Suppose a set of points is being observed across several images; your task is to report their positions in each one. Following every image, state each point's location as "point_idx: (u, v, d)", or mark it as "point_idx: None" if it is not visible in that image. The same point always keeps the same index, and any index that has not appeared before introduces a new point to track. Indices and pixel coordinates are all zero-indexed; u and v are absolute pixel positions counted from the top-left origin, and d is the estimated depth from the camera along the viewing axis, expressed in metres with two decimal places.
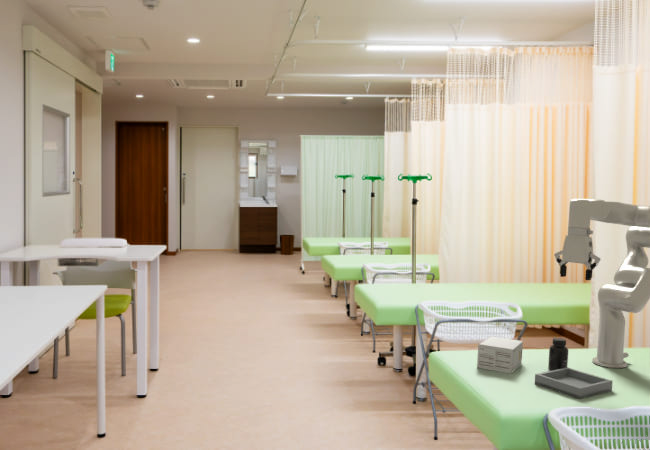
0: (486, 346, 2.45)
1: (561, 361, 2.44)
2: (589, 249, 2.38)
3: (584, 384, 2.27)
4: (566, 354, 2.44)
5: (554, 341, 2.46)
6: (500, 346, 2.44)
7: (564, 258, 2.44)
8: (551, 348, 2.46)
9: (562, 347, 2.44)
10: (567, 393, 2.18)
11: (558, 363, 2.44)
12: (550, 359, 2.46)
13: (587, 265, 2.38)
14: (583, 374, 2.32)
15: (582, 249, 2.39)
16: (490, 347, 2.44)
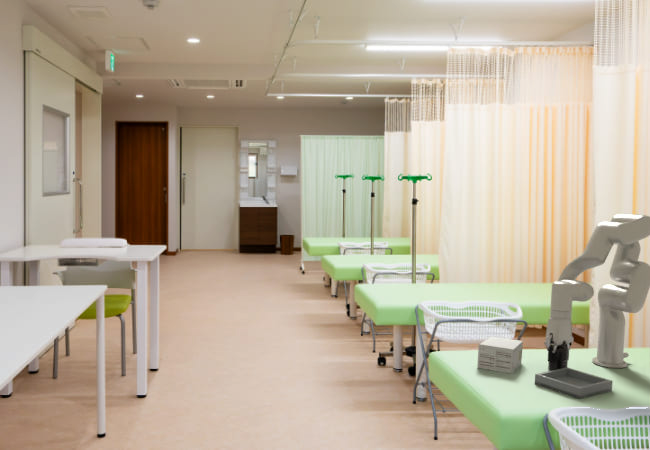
0: (486, 346, 2.45)
1: (561, 360, 2.43)
2: None
3: (584, 384, 2.27)
4: (566, 354, 2.44)
5: None
6: (500, 346, 2.44)
7: (557, 343, 2.43)
8: None
9: (562, 347, 2.44)
10: (567, 393, 2.18)
11: (558, 363, 2.44)
12: None
13: (568, 346, 2.48)
14: (583, 374, 2.32)
15: (570, 330, 2.46)
16: (490, 347, 2.44)
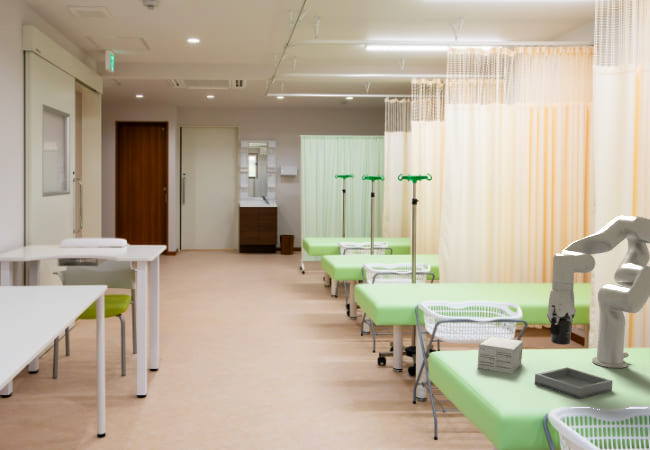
0: (487, 346, 2.45)
1: (563, 332, 2.43)
2: None
3: (584, 384, 2.27)
4: (569, 326, 2.44)
5: None
6: (501, 346, 2.44)
7: (560, 314, 2.42)
8: None
9: (565, 319, 2.44)
10: (567, 393, 2.18)
11: (561, 335, 2.43)
12: None
13: (571, 318, 2.47)
14: (583, 374, 2.32)
15: (572, 302, 2.45)
16: (491, 347, 2.44)
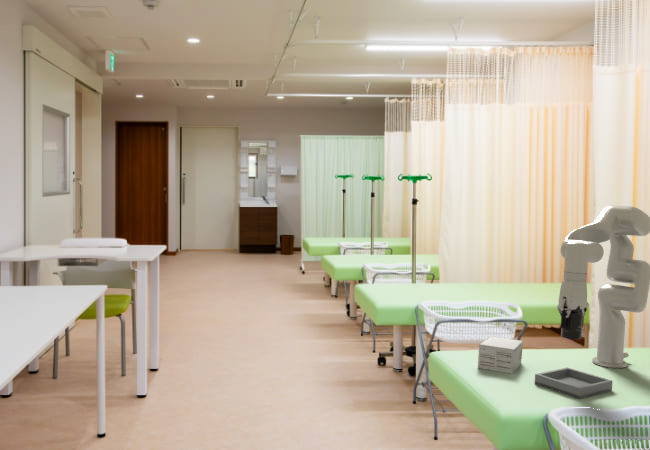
0: (487, 346, 2.45)
1: (574, 326, 2.27)
2: None
3: (584, 384, 2.27)
4: (580, 319, 2.27)
5: None
6: (501, 346, 2.44)
7: (571, 307, 2.26)
8: None
9: (576, 312, 2.27)
10: (567, 393, 2.18)
11: (571, 329, 2.27)
12: None
13: (583, 311, 2.31)
14: (583, 374, 2.32)
15: (585, 294, 2.29)
16: (491, 347, 2.44)
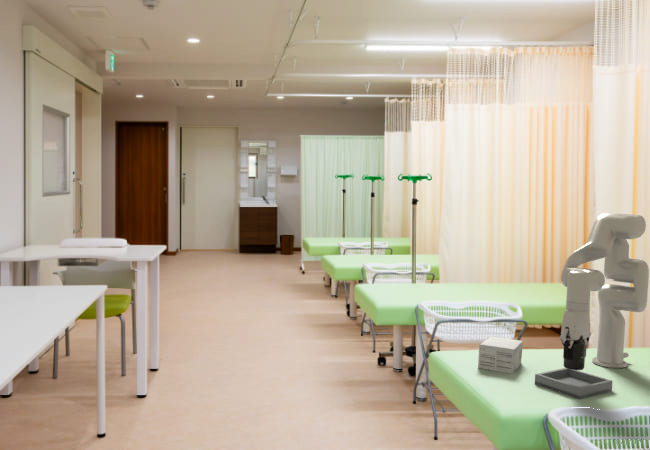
0: (487, 346, 2.45)
1: (577, 357, 2.23)
2: None
3: (584, 384, 2.27)
4: (583, 350, 2.23)
5: None
6: (501, 346, 2.44)
7: (574, 337, 2.22)
8: None
9: (579, 342, 2.23)
10: (567, 393, 2.18)
11: (574, 360, 2.23)
12: None
13: (586, 341, 2.27)
14: (583, 374, 2.32)
15: (587, 324, 2.25)
16: (491, 347, 2.44)
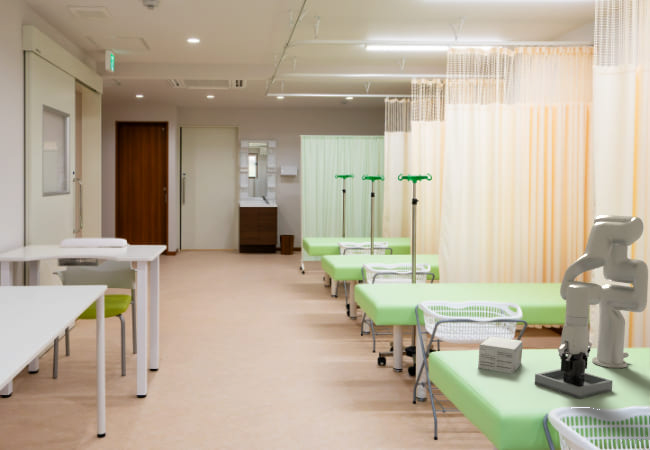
0: (487, 346, 2.45)
1: (577, 374, 2.23)
2: None
3: (584, 384, 2.27)
4: (583, 366, 2.24)
5: None
6: (501, 346, 2.44)
7: (573, 352, 2.22)
8: None
9: (579, 359, 2.24)
10: (567, 393, 2.18)
11: (574, 376, 2.24)
12: (565, 372, 2.26)
13: (586, 353, 2.27)
14: None
15: (587, 338, 2.25)
16: (491, 347, 2.44)
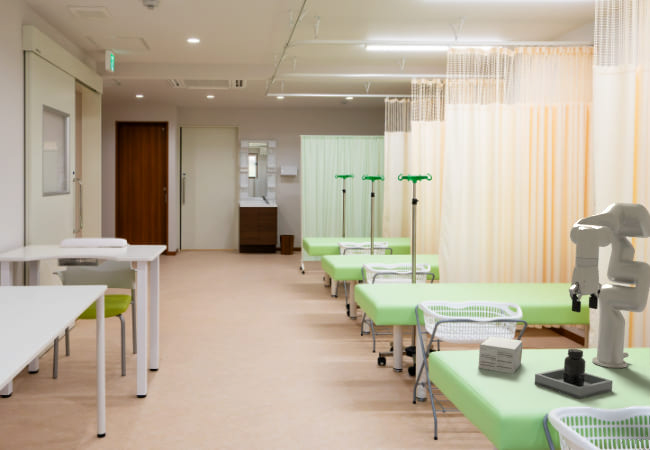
0: (488, 346, 2.45)
1: (577, 374, 2.23)
2: None
3: (584, 384, 2.27)
4: (583, 366, 2.24)
5: (570, 352, 2.26)
6: (502, 346, 2.44)
7: (584, 292, 2.27)
8: (566, 360, 2.26)
9: (579, 359, 2.24)
10: (567, 393, 2.18)
11: (574, 376, 2.24)
12: (565, 372, 2.26)
13: (597, 294, 2.33)
14: None
15: (597, 279, 2.30)
16: (492, 347, 2.44)
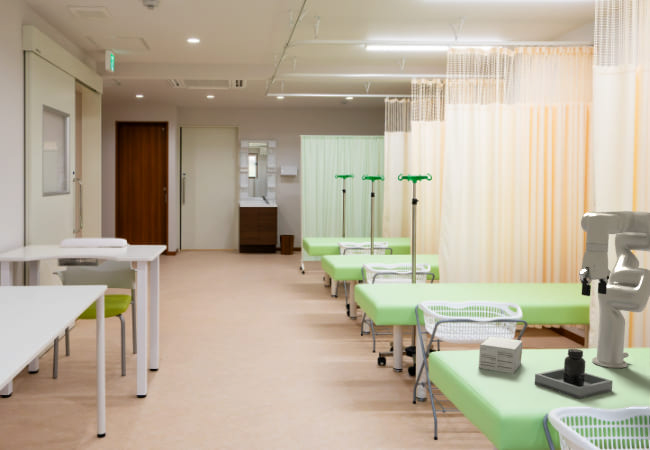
0: (488, 346, 2.45)
1: (577, 374, 2.23)
2: None
3: (584, 384, 2.27)
4: (583, 366, 2.24)
5: (570, 352, 2.26)
6: (502, 346, 2.44)
7: (594, 276, 2.35)
8: (566, 360, 2.26)
9: (579, 359, 2.24)
10: (567, 393, 2.18)
11: (574, 376, 2.24)
12: (565, 372, 2.26)
13: (606, 279, 2.41)
14: None
15: (606, 264, 2.39)
16: (492, 347, 2.44)
